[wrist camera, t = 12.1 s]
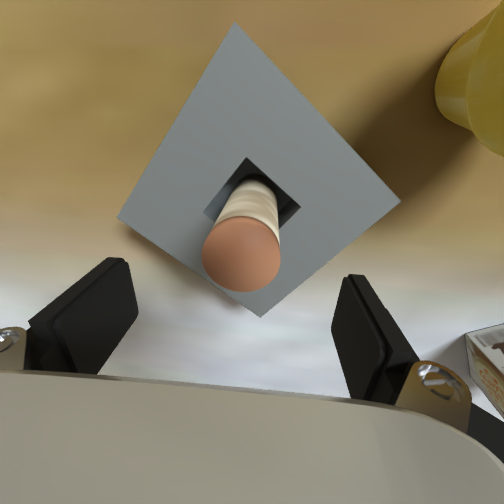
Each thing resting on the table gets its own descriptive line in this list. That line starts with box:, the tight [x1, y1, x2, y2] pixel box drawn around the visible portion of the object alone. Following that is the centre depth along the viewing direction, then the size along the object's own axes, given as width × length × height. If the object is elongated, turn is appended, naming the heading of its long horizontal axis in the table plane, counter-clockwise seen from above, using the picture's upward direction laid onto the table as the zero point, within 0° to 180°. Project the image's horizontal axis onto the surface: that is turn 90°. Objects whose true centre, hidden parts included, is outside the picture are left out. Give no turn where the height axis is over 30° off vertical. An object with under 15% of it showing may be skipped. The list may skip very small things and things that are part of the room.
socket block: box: [117, 22, 401, 317], centre depth 22 cm, size 16×16×5 cm
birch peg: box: [202, 174, 281, 292], centre depth 18 cm, size 4×4×12 cm
